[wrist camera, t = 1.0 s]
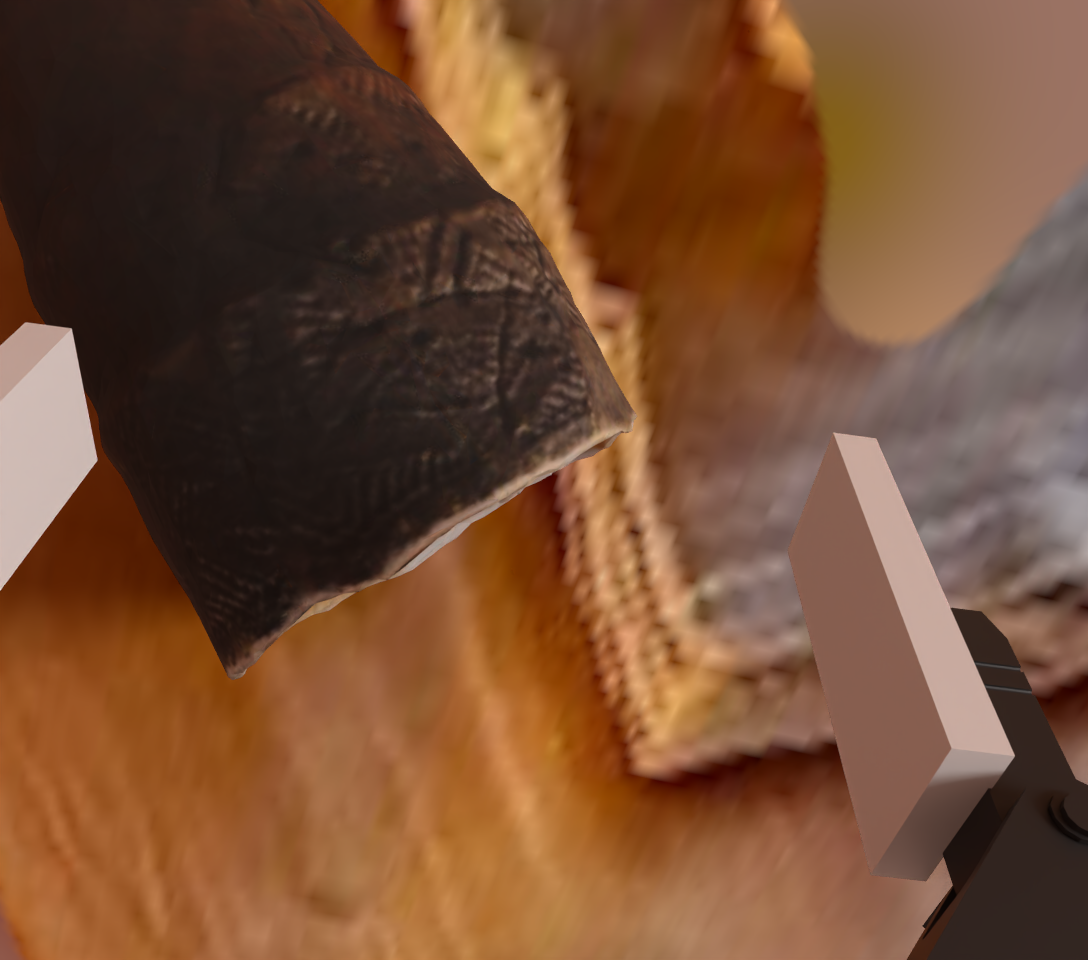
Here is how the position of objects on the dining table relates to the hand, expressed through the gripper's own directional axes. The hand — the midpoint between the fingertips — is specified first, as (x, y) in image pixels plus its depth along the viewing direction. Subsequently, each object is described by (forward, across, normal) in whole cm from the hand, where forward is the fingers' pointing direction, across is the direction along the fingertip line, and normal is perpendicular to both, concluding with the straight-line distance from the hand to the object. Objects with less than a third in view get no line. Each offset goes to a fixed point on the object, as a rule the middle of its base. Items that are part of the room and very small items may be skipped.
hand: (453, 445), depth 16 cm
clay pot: (+20, +8, +6) cm, 22 cm away
